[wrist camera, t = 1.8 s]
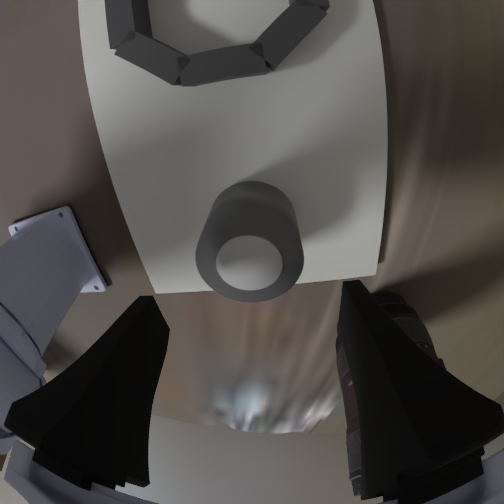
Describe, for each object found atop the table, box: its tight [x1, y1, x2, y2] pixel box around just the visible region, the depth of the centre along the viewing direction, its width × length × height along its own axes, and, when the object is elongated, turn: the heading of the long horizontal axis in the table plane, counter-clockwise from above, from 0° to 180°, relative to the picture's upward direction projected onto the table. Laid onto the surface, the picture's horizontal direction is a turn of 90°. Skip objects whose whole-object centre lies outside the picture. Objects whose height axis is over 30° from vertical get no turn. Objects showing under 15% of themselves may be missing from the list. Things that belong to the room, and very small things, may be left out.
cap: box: [195, 181, 304, 302], centre depth 14 cm, size 5×5×4 cm
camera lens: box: [336, 293, 446, 496], centre depth 15 cm, size 8×8×15 cm
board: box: [78, 0, 388, 293], centre depth 11 cm, size 16×24×3 cm, turn 8°
